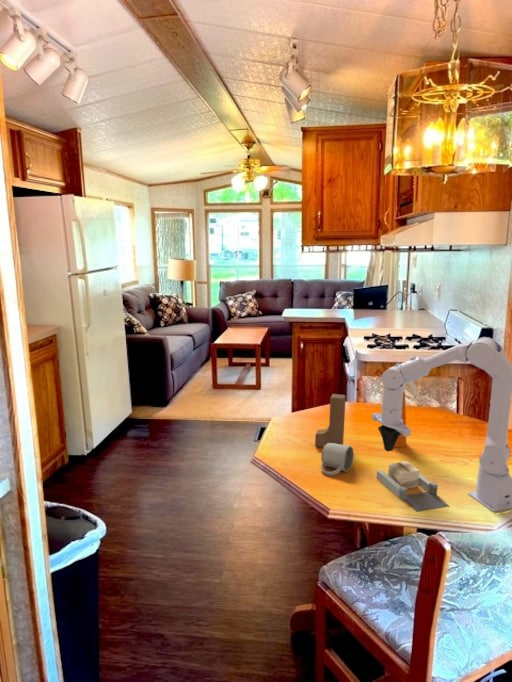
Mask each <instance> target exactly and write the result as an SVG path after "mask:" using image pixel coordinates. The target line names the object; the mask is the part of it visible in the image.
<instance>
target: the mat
mask: <svg viewBox="0 0 512 682" xmlns="http://www.w3.org/2000/svg"><path fill="white" fill-rule="evenodd" d="M403 502H404V503H406V504H407V505H408V506H409V507H411V508H412V509H413V510H414V511H415V512H417V513H418V512H423V511H424V512H425V511H430V510H431V511H432V510H434V509H435V510H436V509H442V508H446V507H447V508H449V507H450V505H449V504H448V503H447V502H446V501H444V500H443V499H441V498H440V497H439V496H438V495H431V494H430V493H429V492H427V491H422V492H417V493H410V494H407V499H406V500H403Z"/></svg>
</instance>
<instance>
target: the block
mask: <svg viewBox="0 0 512 682" xmlns="http://www.w3.org/2000/svg"><path fill="white" fill-rule="evenodd" d="M387 471H388V473H387V475H388V476H389V477H391V478H392V479H393V480H394V481H395V482H397V483H398V484H399V485H400V486H401V487H405V488H407V490H409V489H413V488H418V487H419V485H418V480H419V473H420V470H419V469H417V468H416V467H415V466H413V464H411V463H409V462H408V461H401V462H392V463H388V470H387Z"/></svg>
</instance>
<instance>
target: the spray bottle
mask: <svg viewBox="0 0 512 682" xmlns="http://www.w3.org/2000/svg"><path fill="white" fill-rule="evenodd" d="M405 384H407V385H408V386H409V387H410V389H411V391H412V392H413V393H414V394H415V395H416V396H417V397H421V395H420V393H419V392H418V389H417V388H416V385H415V380H414V381H411V382H409V383H404V384H403V402H402V415H401V419H402V420H403V422H402V423H403V424H405V425H406V426H407V424H406V423H407V420H406V419H407V417H406V416H407V414H406V385H405ZM406 445H407V436H403V434H402V433H401V434H400V436H399V437H398V439H397V440H396V443H395V445H394V448H404V447H406Z"/></svg>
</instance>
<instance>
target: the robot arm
mask: <svg viewBox="0 0 512 682" xmlns="http://www.w3.org/2000/svg"><path fill="white" fill-rule="evenodd" d="M455 361H459V362H462V363H468V362H470V364H471V365H472V366H475V367H477V368H479V369H481V370H483V371H485V373H487V374H488V375H489V376H490V377H491V378H492V382H491V394H490V405H489V412H488V414H489V415H488V423H487V434H486V439H485V444H484V450H483V452H482V453H481V455H480V456H479V459H478V461H479V465H478V472H477V480H476V481H477V482H476V489H475V490H476V491H471V492H468V496H470V497H471V498H473V499H475V500H476V501H477V502H479V503H480V504H481V505H483V506H484V507H486V508H487V509H489V510H490V511H491V512H494V513H495V511H496V512H501V511H506V509H507V510H511V509H512V476H511V475H510V472H509V471H510V469H509V467H508V465H507V464H508V462H509V461H508V460H509V459H510V457H511V449H510V447H509V443H508V442H509V437H508V433H509V421H510V413H511V403H512V364H511V363H512V362H511V361H510V360H509V358H508V357H507V354H506V353H505V351H504V348H503V346H502V345H501V344H500V343H499V342H498V341H496V340H495V339H493V338H491V337H489V336H488V337H487V336H482V337H480V338H478V339H476V340H475V339H474V340H468V341H466V342H462V343H459V344H457V345H453V346H452V347H449V348H447V349H445V350H442V351H439V352H438V353H436V354H434V355H431V356H430V357H424V356H416V355H413V356H411V357H409V360H407V361H403V362H402V363H400V362H398V363H395V364H394V366H391V367H389V368H388V369H387V370H385V371H383V373H382V375H381V378H380V379H381V380H380V381H381V384H382V385H383V389H382V397H381V398H382V402H381V413H378V412H374V413H372V417H371V420H372V421H375V422H376V421H377V422H378V423H380V426H378V428H377V429H378V431H379V433H380V435H381V437H382V438H381V439H382V443H383V448H384V450H385V451H387V452H392V451H393V450H394V448H395V447H394V445H395V443H396V440H397V439H398V437H399V436H400V434H401V433H402V434H403V436H406V437H408V436H411V435H412V434H411V432H412V429H411V428H409V427H408V426H407V424H406V425H405V424H403V423H402V422H403V420H402V419H401V415H402V402H403V384H404V383H405V384H407V383H409V382H411V381H414V382H415V381H416V380H418V379H421V378H425V377H427V376H429V374H430V372H431V370H432V369H435V368H438V367H440V366H444V365H446V364H450V363H452V362H455ZM405 384H404V385H405Z"/></svg>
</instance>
